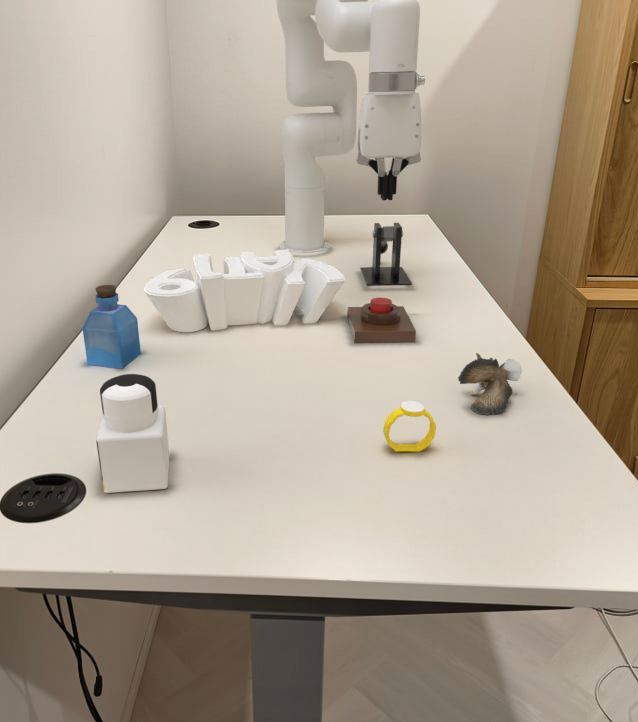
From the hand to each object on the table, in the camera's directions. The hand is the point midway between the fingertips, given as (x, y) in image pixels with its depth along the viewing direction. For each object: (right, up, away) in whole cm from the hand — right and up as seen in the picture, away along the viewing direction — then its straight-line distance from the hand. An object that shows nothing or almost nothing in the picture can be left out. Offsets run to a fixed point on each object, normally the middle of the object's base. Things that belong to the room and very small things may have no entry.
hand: (386, 198), depth 117 cm
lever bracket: (+5, -11, +26) cm, 28 cm away
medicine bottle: (-36, -41, -38) cm, 67 cm away
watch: (-4, -39, -35) cm, 53 cm away
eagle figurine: (+9, -34, -24) cm, 42 cm away
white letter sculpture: (-25, -20, +8) cm, 33 cm away
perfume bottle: (-45, -28, -8) cm, 54 cm away
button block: (-1, -23, 0) cm, 23 cm away
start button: (-1, -19, -1) cm, 19 cm away
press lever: (+5, -4, +26) cm, 27 cm away
